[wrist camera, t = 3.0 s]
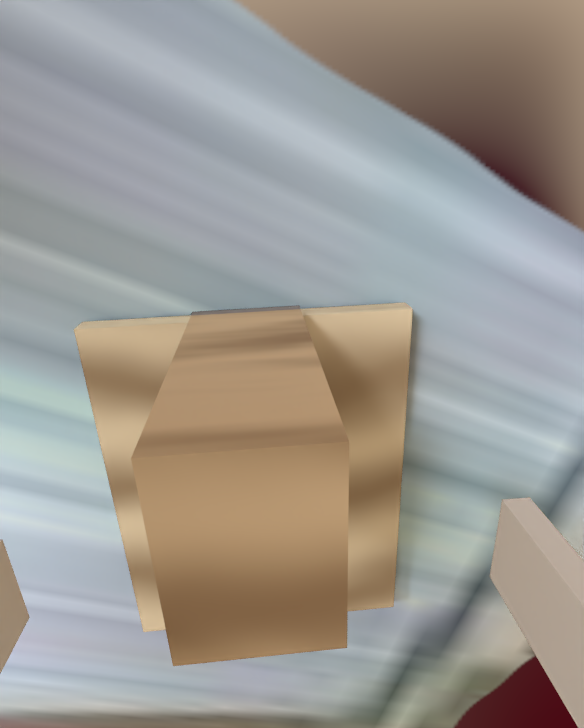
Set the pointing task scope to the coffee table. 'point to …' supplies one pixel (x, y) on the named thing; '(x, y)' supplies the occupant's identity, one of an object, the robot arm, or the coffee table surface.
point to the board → (352, 398)
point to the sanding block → (246, 491)
